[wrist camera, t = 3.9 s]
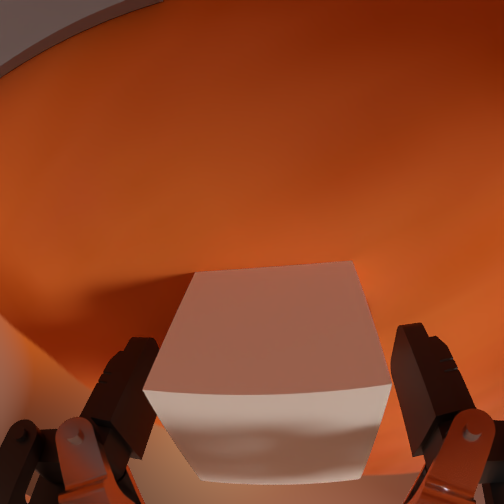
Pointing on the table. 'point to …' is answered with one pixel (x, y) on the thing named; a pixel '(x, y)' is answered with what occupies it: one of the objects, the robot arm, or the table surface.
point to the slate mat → (51, 24)
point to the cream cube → (272, 375)
